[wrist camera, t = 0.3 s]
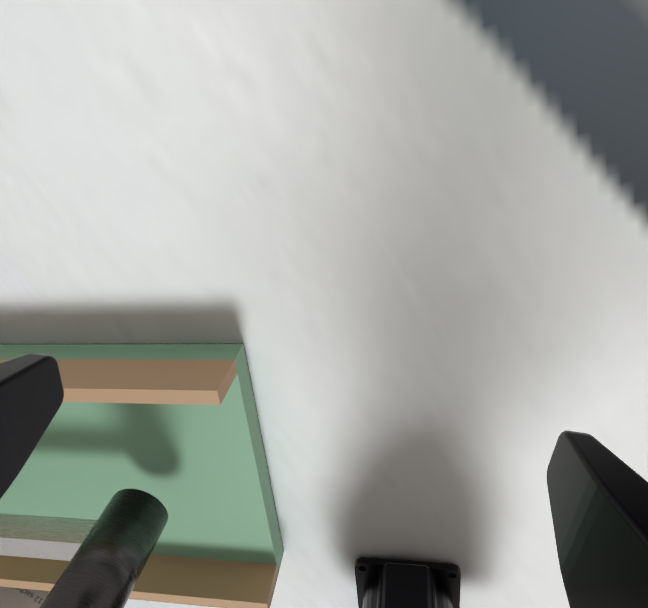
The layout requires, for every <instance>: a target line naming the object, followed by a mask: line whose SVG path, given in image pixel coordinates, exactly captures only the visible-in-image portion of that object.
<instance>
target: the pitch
mask: <svg viewBox="0 0 648 608" xmlns="http://www.w3.org/2000/svg"><path fill="white" fill-rule="evenodd" d="M30 353H37V354H44V355H51V356H53V357H54V358H55V359H56V360H57V362H58V366H59V371H60V375H61V380H62V385H63V389H64V398H63V402H62V404H61V406H60V408H59V410H58V411H57V413H56V415H55V416H54V418H53V419H52V421H51V423H50V424H49V426H48V428H47V429H46V431H45V433H44V434H43V436H42V437H41V439H40V441H39V442H38V444H37V446H36V447H35V449H34V450H33V452H32V454H31V455H30V457H29V459H28V460H27V462H26V463H25V465H24V467H23V468H22V470H21V471H20V473H19V474H18V476H17V477H16V479H15V480H14V481H13V483H12V484H11V486H10V487H9V488H8V490H7V491H6V492H5V494H4V495H3V496H2V498H1V499H0V513H4V514H19V515H34V516H49V517H64V518H79V519H94V520H98V518H99V517H100V515H101V514H102V512H103V511H104V509H105V508H106V506H107V505H108V503H109V502H110V500H111V499H112V497H113V496H114V494H115V493H116V492H118V491H120V490H123V489H138V490H142V491H145V492H147V493H149V494H151V495H153V496H154V497H156V498H157V499H158V500H159V501H160V502H161V503H162V504H163V505H164V506H165V508H166V510H167V513H168V521H167V523H166V525H165V527H164V529H163V531H162V533H161V535H160V537H159V539H158V541H157V543H156V545H155V547H154V549H153V551H152V553H151V555H150V557H149V559H148V561H147V563H146V565H145V567H144V569H143V571H142V572H141V574H140V576H139V578H138V580H137V582H136V584H135V586H134V588H133V590H132V592H131V594H130V596H129V598H128V599H136V600H146V601H157V602H167V603H177V604H188V605H198V606H209V607H219V608H270V605H271V601H272V597H273V593H274V589H275V585H276V581H277V577H278V573H279V568H280V564H281V560H282V556H283V552H284V551H283V545H282V540H281V535H280V530H279V525H278V520H277V514H276V509H275V504H274V499H273V494H272V489H271V483H270V478H269V473H268V468H267V463H266V458H265V452H264V447H263V442H262V437H261V432H260V427H259V421H258V416H257V411H256V406H255V401H254V396H253V390H252V385H251V380H250V375H249V370H248V365H247V359H246V354H245V349H244V344H0V363H2V362H5V361H8V360H11V359H14V358H17V357H20V356H23V355H26V354H30ZM69 562H70V561H65V560H53V559H41V558H29V557H17V556H5V555H0V586H1V587H11V588H22V589H32V590H43V591H51V589H52V588H53V586H54V585H55V583H56V582H57V580H58V579H59V577H60V576H61V574H62V573H63V571H64V570H65V568H66V567H67V565H68V564H69Z"/></svg>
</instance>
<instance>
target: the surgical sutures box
mask: <svg viewBox="0 0 648 608" xmlns="http://www.w3.org/2000/svg"><path fill="white" fill-rule="evenodd" d="M48 594H49V592H47V591H43V590H32V589H22V588H11V587H1V586H0V608H39V607H40V606H41V604H42V603H43V601H44V600H45V598H46V597H47V595H48Z"/></svg>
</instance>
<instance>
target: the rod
mask: <svg viewBox="0 0 648 608" xmlns="http://www.w3.org/2000/svg"><path fill="white" fill-rule="evenodd" d="M167 521H168V513H167V510H166V508H165V506H164V505H163V504H162V503H161V502H160V501H159V500H158V499H157V498H156V497H154V496H153V495H151V494H149V493H147V492H145V491H142V490H138V489H123V490H120V491H118V492H116V493H115V494H114V496H113V497H112V499H111V500H110V502H109V503H108V505H107V506H106V508H105V509H104V511H103V512H102V514H101V515H100V517H99V518H98V520H94V519H79V518H64V517H49V516H34V515H19V514H4V513H0V555H5V556H17V557H29V558H41V559H53V560H65V561H70V562H69V564H68V565H67V567H66V568H65V570H64V571H63V573H62V574H61V576H60V577H59V579H58V580H57V582H56V583H55V585H54V586H53V588H52V589H51V591H50V592H49V594H48V595H47V597H46V598H45V600H44V601H43V603H42V604H41V606H40V607H39V608H124V606H125V604H126V602H127V600H128V598H129V596H130V594H131V592H132V590H133V588H134V586H135V584H136V582H137V580H138V578H139V576H140V574H141V572H142V571H143V569H144V567H145V565H146V563H147V561H148V559H149V557H150V555H151V553H152V551H153V549H154V547H155V545H156V543H157V541H158V539H159V537H160V535H161V533H162V531H163V529H164V527H165V525H166V523H167Z"/></svg>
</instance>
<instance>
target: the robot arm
mask: <svg viewBox="0 0 648 608" xmlns="http://www.w3.org/2000/svg"><path fill="white" fill-rule="evenodd" d="M63 398H64V389H63V385H62V380H61V375H60V371H59V366H58V362H57V360H56V359H55V358H54V357H53V356H51V355H44V354H37V353H30V354H26V355H23V356H20V357H17V358H14V359H11V360H8V361H5V362H2V363H0V499H1V498H2V496H3V495H4V494H5V492H6V491H7V490H8V488H9V487H10V486H11V484H12V483H13V481H14V480H15V479H16V477H17V476H18V474H19V473H20V471H21V470H22V468H23V467H24V465H25V463H26V462H27V460H28V459H29V457H30V455H31V454H32V452H33V450H34V449H35V447H36V446H37V444H38V442H39V441H40V439H41V437H42V436H43V434H44V433H45V431H46V429H47V428H48V426H49V424H50V423H51V421H52V419H53V418H54V416H55V415H56V413H57V411H58V410H59V408H60V406H61V404H62V402H63ZM547 485H548V491H549V498H550V505H551V512H552V518H553V525H554V532H555V538H556V545H557V552H558V558H559V563H560V569H561V574H562V578H563V582H564V586H565V590H566V594H567V597H568V601H569V605H570V608H648V482H647V481H646V480H645V479H643V478H642V477H641V476H640V475H639V474H637V473H636V472H635V471H634V470H632V469H631V468H630V467H629V466H628V465H626V464H625V463H624V462H623V461H622V460H620V459H619V458H618V457H617V456H616V455H614V454H613V453H612V452H611V451H610V450H608V449H607V448H606V447H605V446H604V445H602V444H601V443H600V442H599V441H598V440H596V439H595V438H594V437H593V436H591V435H589V434H587V433H580V432H573V431H564V432H562V433H561V434H560V436H559V438H558V440H557V443H556V446H555V449H554V451H553V454H552V457H551V460H550V463H549V465H548V469H547ZM355 575H356V585H357V595H358V605H359V608H459V602H460V579H461V575H460V568H459V567H458V566H456V565H453V564H442V563H429V562H415V561H401V560H388V559H374V558H358V559H357V560H356V562H355Z"/></svg>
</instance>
